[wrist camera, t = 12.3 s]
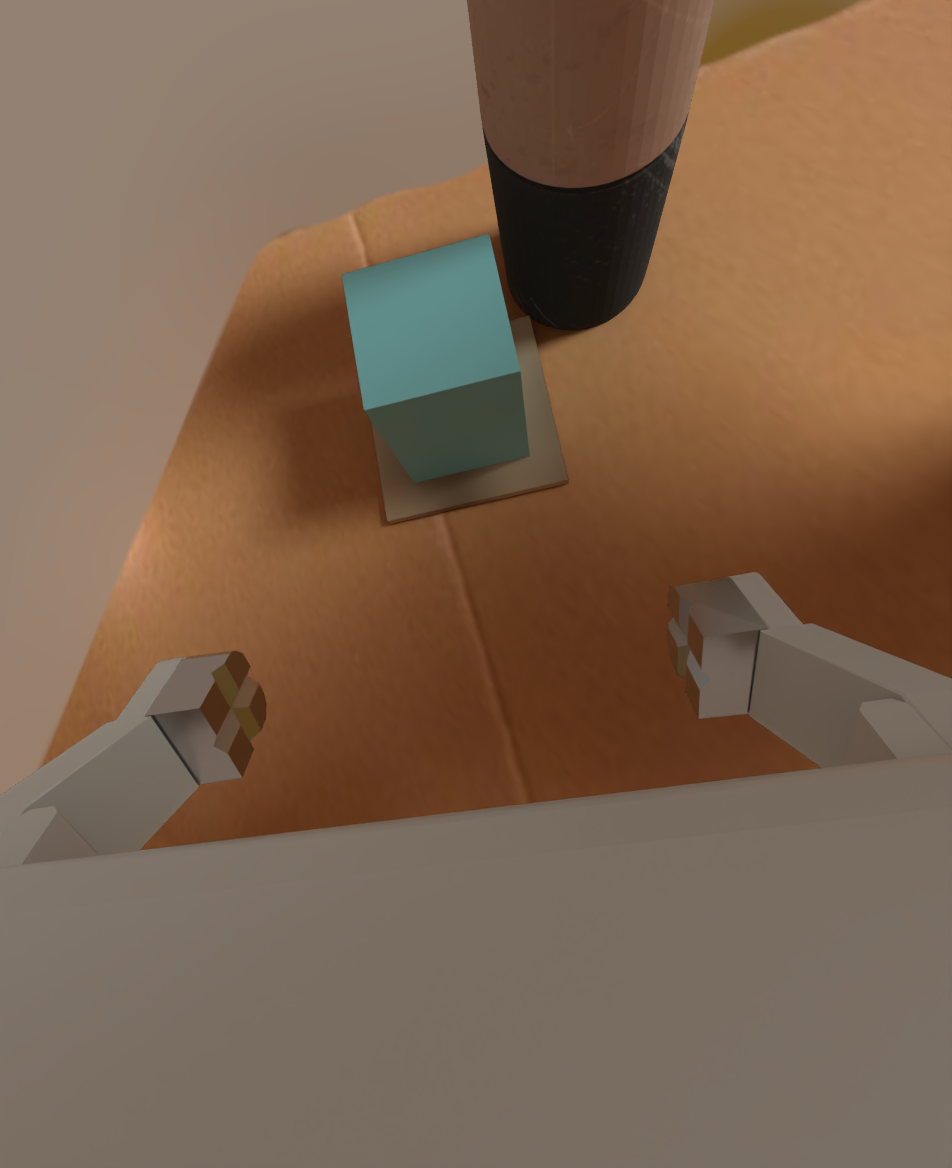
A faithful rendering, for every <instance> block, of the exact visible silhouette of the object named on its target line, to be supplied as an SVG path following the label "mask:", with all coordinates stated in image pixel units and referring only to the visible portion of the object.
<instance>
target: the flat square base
mask: <svg viewBox="0 0 952 1168" xmlns="http://www.w3.org/2000/svg"><path fill="white" fill-rule="evenodd" d="M509 323H510V327H511V332H512V336H513V340H514V345H515V349H516V354H517V358H518V362H519V367H520V371H521V380H522V390H523V399H524V408H525V417H526V426H527V436H528V445H529V454H530V456H527V457H523V458H519V459H514V460H510V461H506V462H502V463H497V464H493V465H489V466H485V467H480V468H476V469H472V470H468V471H463V472H459V473H455V474H451V475H446V476H442V477H438V478H434V479H429V480H425V481H421V482H417V483H414V482H413V480H412V479H411V478H410V476H409V475H408V473H407V472H406V470H405V469H404V467H403V466H402V465H401V463H400V462H399V460H398V459H397V457H396V456H395V455H394V453H393V452H392V450H391V449H390V447H389V446H388V444H387V443H386V442H385V440H384V439H383V437H382V436H381V434H380V433H379V432H378V430H377V429H376V427H375V426H374V424H373V423H372V421H371V426H372V432H373V438H374V444H375V450H376V456H377V462H378V468H379V475H380V481H381V487H382V493H383V499H384V505H385V511H386V517H387V522H388V523H389V524H393V523H397V522H402V521H406V520H410V519H415V518H419V517H423V516H428V515H432V514H436V513H441V512H445V511H450V510H454V509H458V508H463V507H467V506H471V505H476V504H480V503H484V502H489V501H493V500H498V499H502V498H506V497H511V496H515V495H519V494H524V493H528V492H532V491H537V490H541V489H546V488H550V487H554V486H559V485H563V484H567V483H568V475H567V471H566V467H565V463H564V459H563V454H562V450H561V446H560V442H559V437H558V433H557V429H556V425H555V421H554V416H553V412H552V408H551V404H550V400H549V395H548V391H547V387H546V383H545V378H544V374H543V370H542V366H541V362H540V357H539V353H538V349H537V345H536V340H535V336H534V332H533V328H532V324H531V319H530V316H526V317H522V318H518V319H514V320H510V321H509Z"/></svg>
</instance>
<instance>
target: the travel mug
mask: <svg viewBox="0 0 952 1168" xmlns="http://www.w3.org/2000/svg"><path fill="white" fill-rule="evenodd" d="M713 3H714V0H467V4H468V12H469V20H470V29H471V37H472V46H473V54H474V62H475V71H476V79H477V88H478V96H479V104H480V112H481V120H482V125H483V132H484V139H485V145H486V152H487V158H488V164H489V170H490V177H491V183H492V189H493V195H494V201H495V208H496V214H497V220H498V226H499V232H500V239H501V245H502V251H503V257H504V263H505V268H506V274H507V279H508V284H509V287H510V290H511V293H512V295H513V297H514V299H515V301H516V302H517V304H518V305H519V306H520V308H521V309H522V310H523V311H524V312H525V313H526V314H527V315H529V316H530V317H531V318H533V319H534V320H536V321H538V322H540V323H542V324H544V325H547V326H550V327H554V328H558V329H569V330H575V329H584V328H589V327H593V326H596V325H599V324H602V323H604V322H606V321H608V320H610V319H611V318H613V317H615V316H616V315H618V314H619V313H620V312H621V311H622V310H624V309H625V308H626V307H627V306H628V305H629V304H630V302H631V301H632V300H633V298H634V297H635V296H636V294H637V292H638V291H639V289H640V287H641V284H642V282H643V279H644V276H645V274H646V270H647V267H648V263H649V260H650V256H651V252H652V249H653V245H654V241H655V237H656V234H657V230H658V226H659V222H660V219H661V215H662V211H663V208H664V204H665V200H666V196H667V193H668V189H669V185H670V181H671V178H672V174H673V170H674V166H675V163H676V159H677V155H678V151H679V148H680V144H681V140H682V136H683V133H684V129H685V125H686V121H687V117H688V113H689V109H690V105H691V101H692V97H693V92H694V88H695V83H696V79H697V74H698V70H699V65H700V61H701V56H702V51H703V47H704V43H705V39H706V34H707V30H708V25H709V21H710V16H711V12H712V7H713Z"/></svg>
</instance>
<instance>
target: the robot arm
mask: <svg viewBox="0 0 952 1168" xmlns="http://www.w3.org/2000/svg"><path fill="white" fill-rule="evenodd" d="M667 606H668V608H669V609H670V611H671V613H672V615H673V618H672V619H671V621H670V622H669V623H668V624H667V641H668V647H669V653H670V657H671V660H672V663H673V666H674V668H675V670H676V672H677V674H678V675H680V676H681V677H683V678H685V679H686V690H685V692H686V694H687V696H688V698H689V700H690V702H691V704H692V706H693V708H694V710H695V712H696V714H697V717H698V719H701V718H711V717H721V716H730V715H740V714H749V716H750V717H751V718H753V719H754V720H755V721H757V722H758V723H760V724H761V725H762V726H764V727H765V728H767V729H768V730H769V731H771V732H772V733H774V734H775V735H776V736H778V737H779V738H781V739H782V740H783V741H785V742H786V743H788V744H789V745H790V746H792V747H793V748H795V749H796V750H797V751H799V752H800V753H802V754H803V755H804V756H806V757H807V758H809V759H810V760H811V761H813V762H814V763H816V764H817V765H818V766H820V767H821V768H817V769H809V770H801V771H792V772H784V773H776V774H767V775H759V776H751V777H743V778H735V779H727V780H719V781H711V782H703V783H694V784H686V785H678V786H670V787H662V788H654V789H645V790H637V791H628V792H620V793H612V794H603V795H595V796H586V797H578V798H569V799H561V800H552V801H544V802H536V803H527V804H519V805H510V806H502V807H493V808H485V809H477V810H468V811H460V812H452V813H444V814H435V815H427V816H419V817H411V818H403V819H394V820H386V821H378V822H370V823H361V824H353V825H345V826H337V827H328V828H320V829H312V830H304V831H295V832H287V833H279V834H270V835H262V836H254V837H246V838H237V839H229V840H221V841H212V842H204V843H196V844H188V845H179V846H171V847H163V848H154V849H146V850H140V849H141V848H142V847H143V846H144V845H145V844H146V843H147V842H148V841H149V840H150V838H151V837H152V836H153V835H154V834H155V833H156V832H157V831H158V830H159V829H160V828H161V827H162V826H163V825H164V824H165V823H166V821H167V820H168V819H169V818H170V817H171V816H172V815H173V814H174V813H175V812H176V811H177V810H178V809H179V808H180V807H181V806H182V804H183V803H184V802H185V801H186V800H187V799H188V798H189V797H190V796H191V795H192V794H193V793H194V792H195V791H196V790H197V789H198V788H199V786H198V785H200V784H206V783H212V782H219V781H225V780H231V779H238V778H242V777H243V775H244V772H245V770H246V767H247V765H248V763H249V760H250V758H251V755H252V753H253V750H254V748H253V746H252V744H251V742H250V740H252V739H253V738H254V737H255V736H256V735H257V734H258V733H259V732H261V730H262V728H263V725H264V722H265V720H266V706H267V704H266V699H265V695H264V692H263V690H262V688H261V686H260V684H259V683H258V682H256V681H255V680H253V679H251V678H250V677H248V676H247V675H248V672H249V669H250V665H249V663H248V661H247V660H246V658H245V656H244V654H243V653H241V652H238V651H228V652H220V653H212V654H204V655H196V656H188V657H181V658H174V659H168V660H163V661H161V662H159V663H156V665H155V666H154V668H153V669H152V670H151V672H150V673H149V675H148V676H147V677H146V679H145V680H144V682H143V683H142V684H141V686H140V687H139V689H138V690H137V691H136V693H135V694H134V696H133V697H132V698H131V700H130V701H129V703H128V704H127V705H126V707H125V708H124V710H123V711H122V712H121V714H120V715H119V717H118V718H117V719H116V721H112V722H107V723H106V724H104V725H103V726H101V727H100V728H98V729H97V730H95V731H94V732H92V733H91V734H89V735H88V736H87V737H85V738H84V739H82V740H81V741H79V742H78V743H76V744H75V745H73V746H72V747H70V748H69V749H67V750H66V751H65V752H63V753H62V754H60V755H59V756H57V757H56V758H54V759H53V760H51V761H50V762H48V763H47V764H45V765H44V766H43V767H41V768H40V769H38V770H37V771H35V772H34V773H32V774H31V775H29V776H28V777H26V778H25V779H24V780H22V781H21V782H19V783H18V784H17V785H15V786H13V787H12V788H10V789H9V790H7V791H6V792H4V793H3V794H1V795H0V1168H952V679H951V678H949V677H946V676H944V675H941V674H939V673H936V672H934V671H931V670H929V669H926V668H924V667H921V666H919V665H916V664H914V663H911V662H908V661H906V660H903V659H901V658H898V657H896V656H893V655H891V654H888V653H886V652H883V651H881V650H878V649H876V648H873V647H871V646H868V645H866V644H863V643H861V642H858V641H856V640H853V639H851V638H848V637H846V636H843V635H841V634H838V633H836V632H833V631H830V630H828V629H825V628H823V627H820V626H818V625H815V624H813V623H810V624H802V622H801V621H800V620H799V619H798V618H797V617H796V616H795V614H794V613H793V612H792V611H791V610H790V609H789V607H788V606H787V605H786V604H785V603H784V602H783V600H782V599H781V598H780V597H779V596H778V595H777V593H776V592H775V591H774V590H773V589H772V588H771V586H770V585H769V584H768V583H767V582H766V581H765V579H764V578H763V577H762V576H761V575H760V574H759V573H756V572H751V573H745V574H740V575H734V576H729V577H726V578H721V579H715V580H709V581H702V582H696V583H690V584H683V585H677V586H671V587H669V591H668V603H667Z"/></svg>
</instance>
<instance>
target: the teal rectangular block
mask: <svg viewBox="0 0 952 1168" xmlns="http://www.w3.org/2000/svg"><path fill="white" fill-rule="evenodd" d="M342 279H343V285H344V291H345V297H346V304H347V310H348V316H349V322H350V328H351V334H352V341H353V347H354V353H355V359H356V365H357V371H358V377H359V384H360V390H361V396H362V402H363V408H364V411H365V413H366V414H367V416H368V417H369V419H370V420H371V421H372V423H373V424H374V426H375V427H376V429H377V430H378V432H379V433H380V434H381V436H382V437H383V439H384V440H385V442H386V443H387V444H388V446H389V447H390V449H391V450H392V452H393V453H394V455H395V456H396V457H397V459H398V460H399V462H400V463H401V465H402V466H403V467H404V469H405V470H406V472H407V473H408V475H409V476H410V478H411V479H412V480H413V482H414V483H417V482H421V481H425V480H429V479H434V478H438V477H442V476H446V475H451V474H455V473H459V472H463V471H468V470H472V469H476V468H480V467H485V466H489V465H493V464H497V463H502V462H506V461H510V460H514V459H519V458H523V457H527V456H530V454H529V445H528V436H527V426H526V417H525V408H524V399H523V390H522V380H521V371H520V367H519V362H518V358H517V354H516V349H515V345H514V340H513V336H512V332H511V327H510V323H509V318H508V314H507V310H506V305H505V301H504V297H503V292H502V288H501V283H500V279H499V275H498V270H497V266H496V261H495V257H494V253H493V248H492V244H491V239H490V235H489V234H486V235H482V236H478V237H475V238H471V239H468V240H464V241H460V242H457V243H453V244H450V245H446V246H442V247H439V248H435V249H432V250H428V251H424V252H421V253H417V254H414V255H410V256H406V257H403V258H399V259H396V260H392V261H388V262H385V263H381V264H378V265H374V266H370V267H367V268H363V269H360V270H356V271H352V272H349V273H345V274H342Z"/></svg>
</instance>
